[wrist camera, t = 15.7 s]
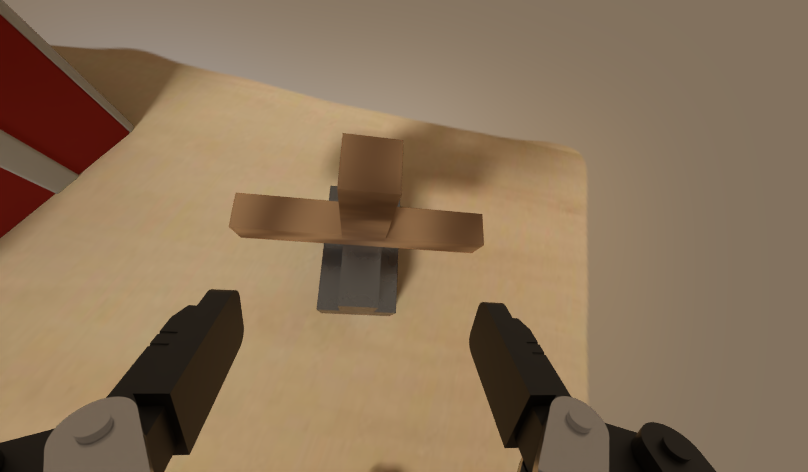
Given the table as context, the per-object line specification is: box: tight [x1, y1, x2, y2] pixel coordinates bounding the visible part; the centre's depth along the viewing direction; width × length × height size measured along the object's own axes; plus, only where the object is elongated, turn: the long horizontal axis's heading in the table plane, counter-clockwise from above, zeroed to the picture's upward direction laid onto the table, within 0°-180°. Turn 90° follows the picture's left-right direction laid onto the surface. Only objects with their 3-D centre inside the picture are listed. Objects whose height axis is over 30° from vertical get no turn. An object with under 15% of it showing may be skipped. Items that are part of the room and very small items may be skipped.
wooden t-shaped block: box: [229, 133, 484, 253], centre depth 20 cm, size 18×3×10 cm, turn 88°
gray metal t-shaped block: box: [317, 186, 400, 316], centre depth 30 cm, size 12×7×10 cm, turn 178°
